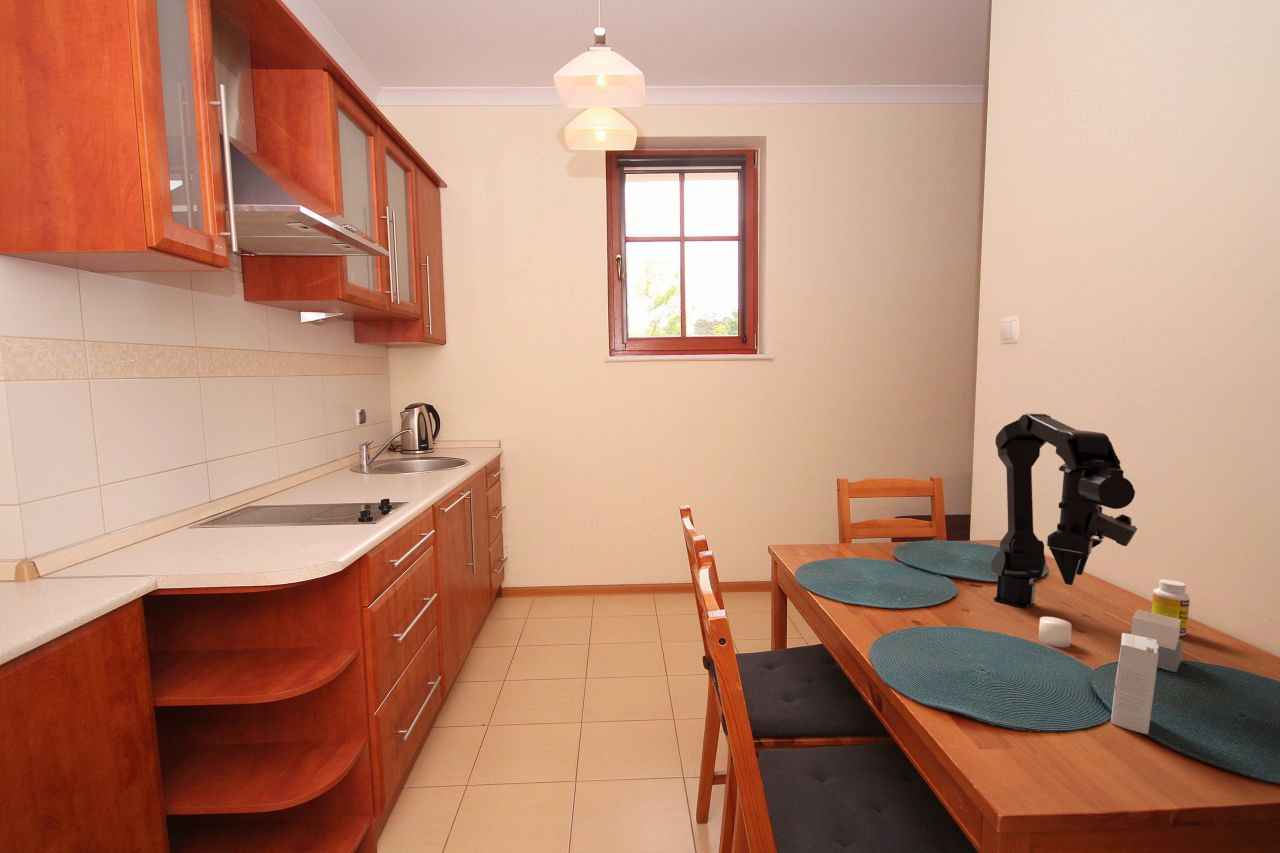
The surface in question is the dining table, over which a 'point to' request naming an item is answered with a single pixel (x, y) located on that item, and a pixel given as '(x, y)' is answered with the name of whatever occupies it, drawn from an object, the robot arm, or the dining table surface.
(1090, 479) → the robot arm
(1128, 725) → the skincare box
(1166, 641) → the tower top
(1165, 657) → the tower base
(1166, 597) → the supplement bottle
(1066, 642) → the white rounded cylinder
